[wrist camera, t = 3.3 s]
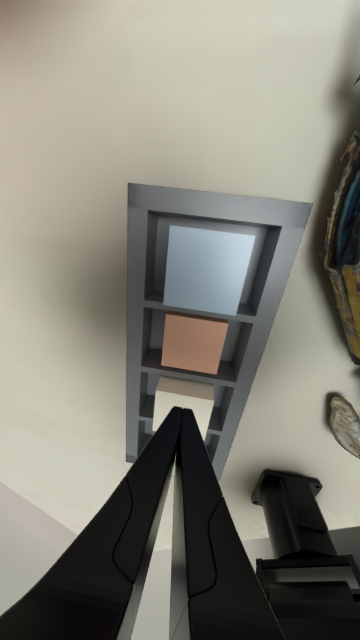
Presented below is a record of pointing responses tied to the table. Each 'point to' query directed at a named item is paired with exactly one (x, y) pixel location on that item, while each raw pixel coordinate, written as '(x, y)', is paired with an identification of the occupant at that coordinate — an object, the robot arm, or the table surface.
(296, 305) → the table surface
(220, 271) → the key blue
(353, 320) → the pulley block
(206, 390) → the key cream
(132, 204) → the gray cubby shelf
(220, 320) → the key terracotta
